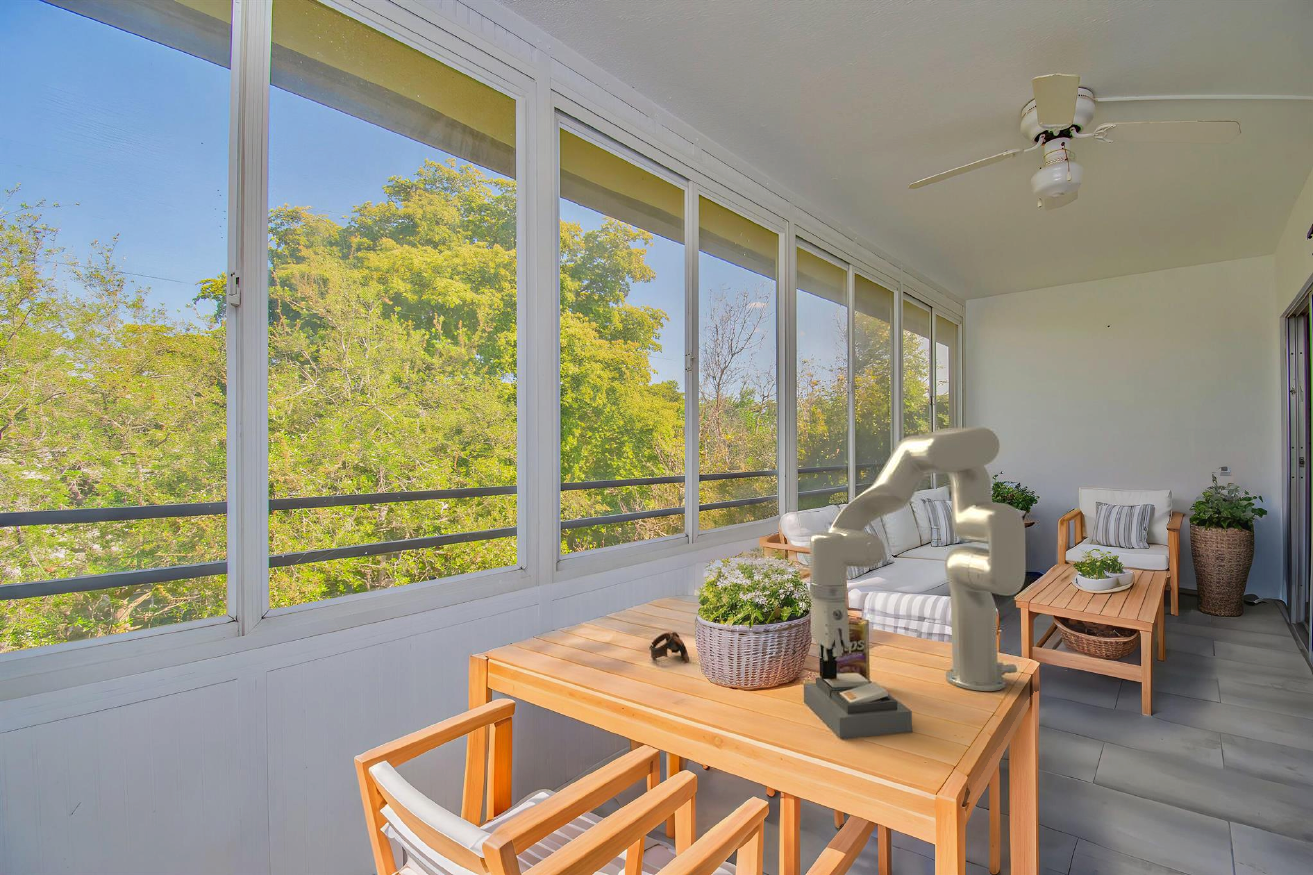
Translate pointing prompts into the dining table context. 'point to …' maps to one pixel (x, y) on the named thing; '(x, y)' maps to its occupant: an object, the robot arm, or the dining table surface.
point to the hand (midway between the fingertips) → (828, 677)
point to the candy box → (856, 650)
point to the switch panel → (856, 712)
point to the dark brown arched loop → (668, 646)
